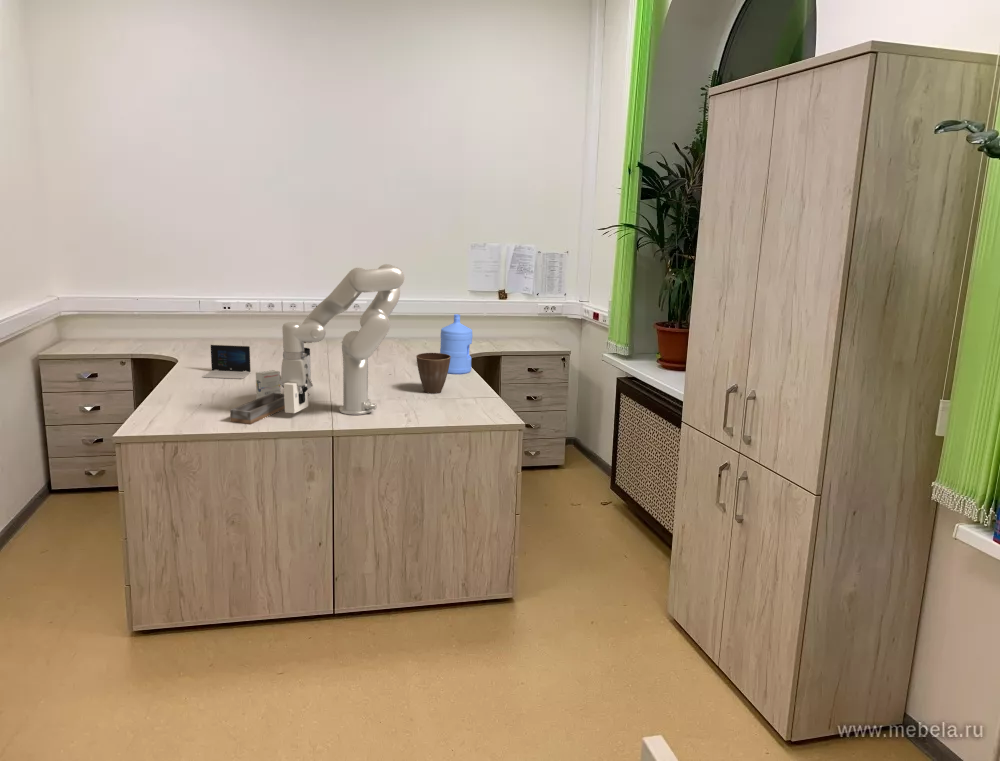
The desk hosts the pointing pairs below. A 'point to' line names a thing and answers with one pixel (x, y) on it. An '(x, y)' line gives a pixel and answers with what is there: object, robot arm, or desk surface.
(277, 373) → the ink box
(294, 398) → the white rectangular box
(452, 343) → the water jug
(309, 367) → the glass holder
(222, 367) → the laptop
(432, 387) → the plant pot
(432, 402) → the desk surface
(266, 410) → the door track
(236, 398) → the desk surface
